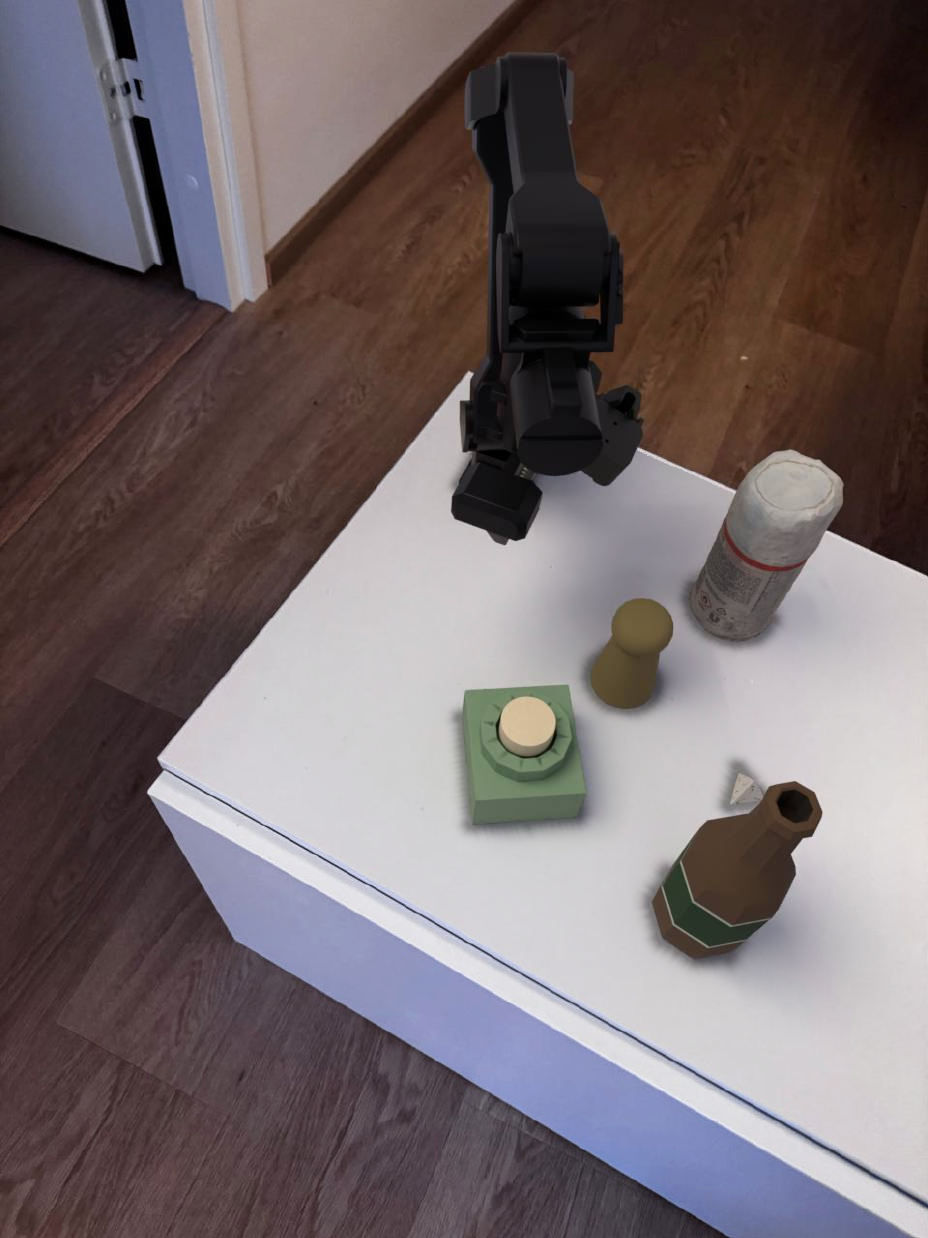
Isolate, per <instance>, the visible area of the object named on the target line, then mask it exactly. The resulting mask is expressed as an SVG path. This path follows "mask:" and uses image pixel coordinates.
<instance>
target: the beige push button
mask: <svg viewBox="0 0 928 1238" xmlns="http://www.w3.org/2000/svg"><path fill="white" fill-rule="evenodd" d="M555 726H556V719H555V716H554V713H553V711H552V709H551V708H550V707H549V706H548V705H547V704H546V703H545V702H543V701H542V700H540V699H537V698H534V697H519V698H516V699H514V700H512V701H511V702H509V703H508V704H507V705H506V706H505V708H504V709H503V712H502V714H501V719H500V725H499V736H500V739H501V741H502V743H503V745H504V746H505V747H506V748H507V749H508V750H509V751H511V752H512V753H514V754H516V755H519V756H525V757H529V756H535V755H538V754H540V753H542V752H543V751H545V750H546V749H547V748H548V746H549V745H550V743H551V741H552V738H553V734H554V731H555Z"/></svg>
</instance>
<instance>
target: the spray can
mask: <svg viewBox="0 0 928 1238" xmlns="http://www.w3.org/2000/svg"><path fill="white" fill-rule="evenodd" d="M844 487H845V484H844V482H843V480H842V479H841V477H840V476H839V475H838V474H837V473H836V472H834V471H833V470H832V469H831V468H829V467H828V465H826V464H825V463H823V461H822V459H814V458H812V457H809V456H806V455H804V454H801V453H800V452H798V451H796V450H794V449H787V450H779V451H774V452H772V453H771V454H770V455H768V456H766V458H764V459H762V460H761V461H760V462H758V463H757V464H756V465H754V466H753V467H752V468H751V469H750V470H749V472H748V473H747V474H746V475H745V477H744V478H743V479H742V480H741V482H740V484H739V485H738V487H737V489H736V491H735V493H734V495H733V498H732V500H731V503H730V505H729V508H728V510H727V513H726V514H725V516H724V518H723V520H722V524H721V526H720V528H719V530H718V533H717V535H716V537H715V541H714V542H713V544H712V547H711V549H710V551H709V553H708V554H707V558H706V560H705V562H704V563H703V564H704V565H703V566H702V568H701V569H700V572H699V574H698V576H697V579H696V580H695V582H694V584H693V585H692V587H691V588H690V592H689V593H688V602H689V607H690V608H691V610H692V612H693V615H694V617H695V618H696V619H697V621H698V622H699V624H700V625H701V626H702V628H703V629H705V631H706V632H708V633H709V634H711V635H714V636H716V637H717V638H720V639H721V640H725V641H731V642H732V641H734V642H735V641H736V642H737V641H747V640H750V639H752V638H757V637H759V636H760V635H761V634H762V633H763V632H764V631H765V630H766V629H767V628H768V627H769V626H770V625H771V624H772V623H773V618H774V616H775V614H776V612H777V610H778V608H780V606H781V604H782V602H783V601H784V599H785V598H786V596H787V594H788V593H789V592H790V590H791V589H792V587H793V584H794V583H795V582H796V580H797V579H798V577H799V576H800V574H801V573H802V570H804V567H805V565H806V563H808V560H809V559H810V558H811V557H812V556H813V554H814V553H815V551H816V550H817V549H818V548H819V545H820V544H821V541H822V540H823V537H824V535H825V534H826V531H827V530H828V528H829V527H830V525H831V523H832V522H833V521H834V519H835V518H836V516H837V514H838V513H839V512H840V510H841V508H842V506H843V502H844V491H843V490H844Z"/></svg>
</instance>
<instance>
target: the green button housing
mask: <svg viewBox="0 0 928 1238" xmlns="http://www.w3.org/2000/svg"><path fill="white" fill-rule="evenodd" d="M519 697H534V698H537V699H540V700H542V701H543V702H545V703H546V704H547V705H548V706H549V707H550V708H551V709H552V711H553V713H554V716H555V719H556V726H555V731H554V734H553V738H552V741H551V743H550V745H549V746H548V748H547V749H546V750H545V751H543V752H542V753H540V754H538V755H535V756H529V757H525V756H519V755H516V754H514V753H512V752H511V751H509V750H508V749H507V748H506V747H505V746H504V745H503V743H502V741H501V739H500V736H499V725H500V719H501V714H502V712H503V709H504V708H505V706H506V705H507V704H508V703H509V702H511V701H512V700H514V699H516V698H519ZM461 713H462V714H461V725H462V734H463V745H464V746H463V747H464V755H465V756H464V757H465V765H466V766H465V767H466V776H467V788H468V797H469V808H470V817H471V818H470V819H471V825H488V824H490V825H491V824H502V823H503V824H504V823H516V822H517V823H518V822H531V821H546V820H561V819H575V818H577V817H578V816H579V813H580V810H581V808H582V805H583V802H584V800H585V798H586V795H587V789H586V782H585V776H584V770H583V764H582V758H581V757H582V756H581V751H580V745H579V740H578V733H577V727H576V719H575V715H574V709H573V703H572V696H571V690H570V685H569V684H550V685H533V686H515V687H514V686H513V687H497V688H482V689H481V688H480V689H479V688H478V689H465V690H464V693H463V704H462V712H461Z"/></svg>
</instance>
